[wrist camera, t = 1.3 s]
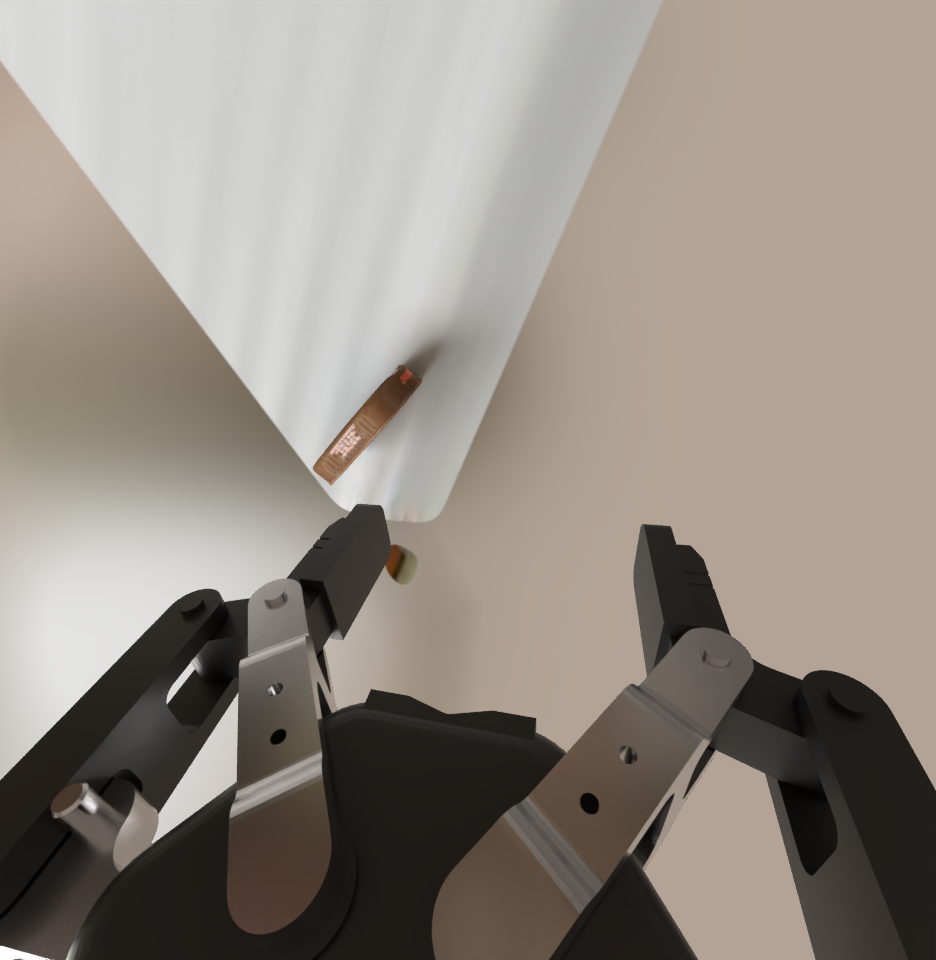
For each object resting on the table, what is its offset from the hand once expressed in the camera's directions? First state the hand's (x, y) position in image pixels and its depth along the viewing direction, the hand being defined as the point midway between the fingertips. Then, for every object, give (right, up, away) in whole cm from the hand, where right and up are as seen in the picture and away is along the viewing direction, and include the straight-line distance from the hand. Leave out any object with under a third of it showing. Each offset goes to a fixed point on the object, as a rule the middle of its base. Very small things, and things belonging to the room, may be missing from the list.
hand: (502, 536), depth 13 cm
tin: (-11, +10, +32) cm, 35 cm away
